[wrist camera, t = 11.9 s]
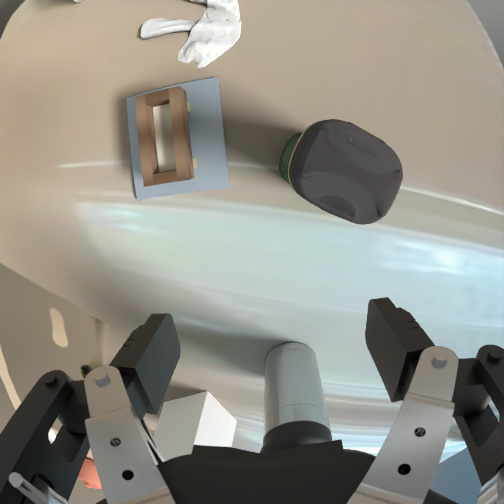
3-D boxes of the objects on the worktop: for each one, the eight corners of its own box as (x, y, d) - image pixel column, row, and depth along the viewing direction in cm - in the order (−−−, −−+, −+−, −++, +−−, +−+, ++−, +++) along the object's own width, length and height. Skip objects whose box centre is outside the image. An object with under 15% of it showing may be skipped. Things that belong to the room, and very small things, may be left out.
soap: (39, 421, 69) (36, 426, 66) (52, 428, 69) (49, 433, 66) (47, 433, 71) (44, 438, 69) (59, 440, 71) (56, 445, 69)
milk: (194, 430, 57) (172, 520, 32) (164, 402, 54) (129, 498, 29) (236, 420, 54) (224, 522, 30) (207, 390, 51) (181, 502, 27)
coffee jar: (271, 177, 38) (276, 194, 20) (293, 126, 35) (317, 98, 18) (334, 205, 39) (384, 244, 21) (355, 156, 36) (422, 158, 19)
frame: (194, 178, 35) (188, 179, 32) (152, 184, 36) (143, 186, 33) (186, 90, 31) (179, 85, 29) (144, 100, 32) (135, 96, 29)
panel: (229, 187, 39) (226, 189, 36) (139, 199, 40) (130, 202, 37) (218, 78, 34) (214, 72, 30) (128, 98, 35) (118, 95, 32)
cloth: (212, 85, 35) (209, 81, 32) (104, 46, 32) (97, 42, 30) (281, -9, 28) (282, -16, 26) (170, -38, 26) (166, -45, 23)
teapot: (79, 463, 77) (70, 481, 65) (67, 447, 72) (56, 467, 60) (122, 480, 77) (114, 501, 65) (113, 466, 72) (104, 490, 60)
